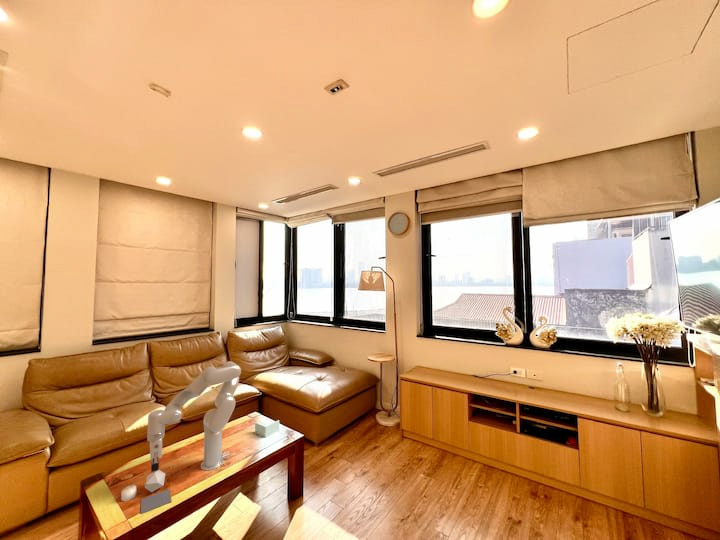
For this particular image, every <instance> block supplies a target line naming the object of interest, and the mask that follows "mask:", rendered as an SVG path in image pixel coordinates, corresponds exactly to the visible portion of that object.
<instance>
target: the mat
mask: <svg viewBox="0 0 720 540" xmlns="http://www.w3.org/2000/svg"><path fill="white" fill-rule="evenodd" d="M171 503H172V494H171V489H170V488H168V489H166V490H163V491H161V492H157V493H154V494H152V495H150V496H147V497H145V498H141V499H140V515H143V514H146V513H147V512H151V511H152V510H155V509H157V508H160V507H162V506H165V505H168V504H171Z"/></svg>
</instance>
